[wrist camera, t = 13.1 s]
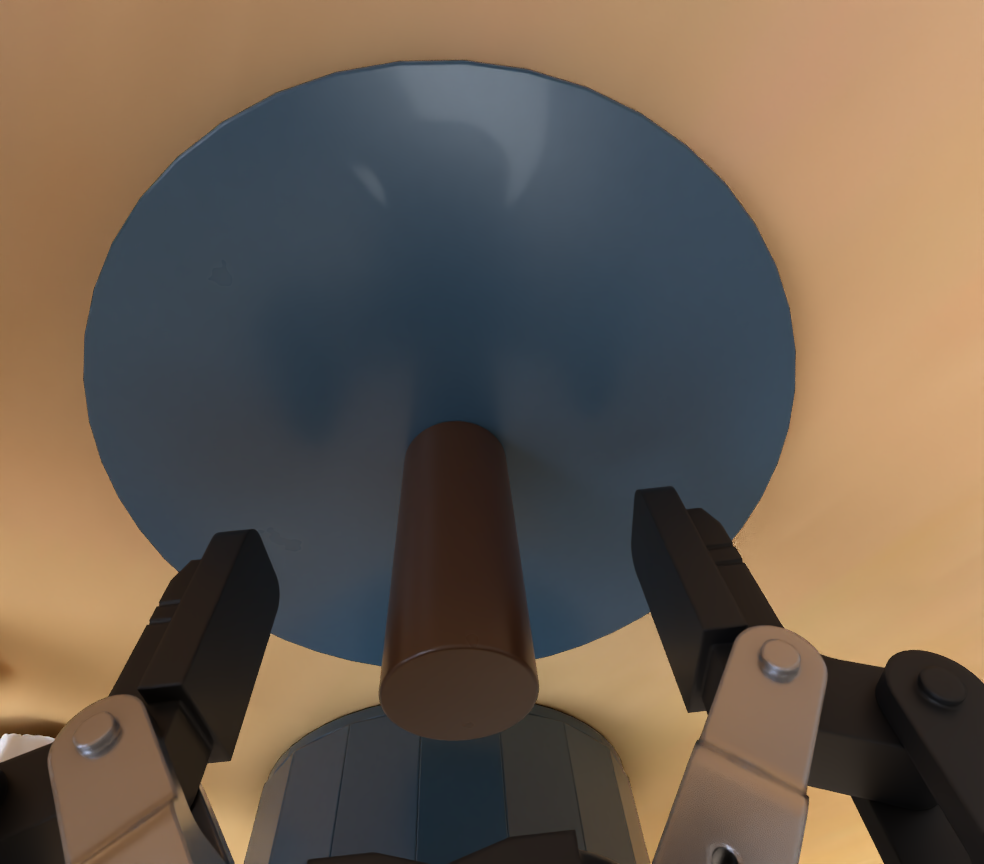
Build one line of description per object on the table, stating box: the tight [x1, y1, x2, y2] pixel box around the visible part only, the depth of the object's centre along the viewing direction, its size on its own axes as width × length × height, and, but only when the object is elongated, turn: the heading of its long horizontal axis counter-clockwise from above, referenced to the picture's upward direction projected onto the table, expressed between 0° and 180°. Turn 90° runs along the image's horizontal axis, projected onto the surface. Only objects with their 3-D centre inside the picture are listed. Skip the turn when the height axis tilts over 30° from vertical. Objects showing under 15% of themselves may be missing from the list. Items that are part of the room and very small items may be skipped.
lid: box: [83, 60, 796, 741], centre depth 12 cm, size 17×17×8 cm
